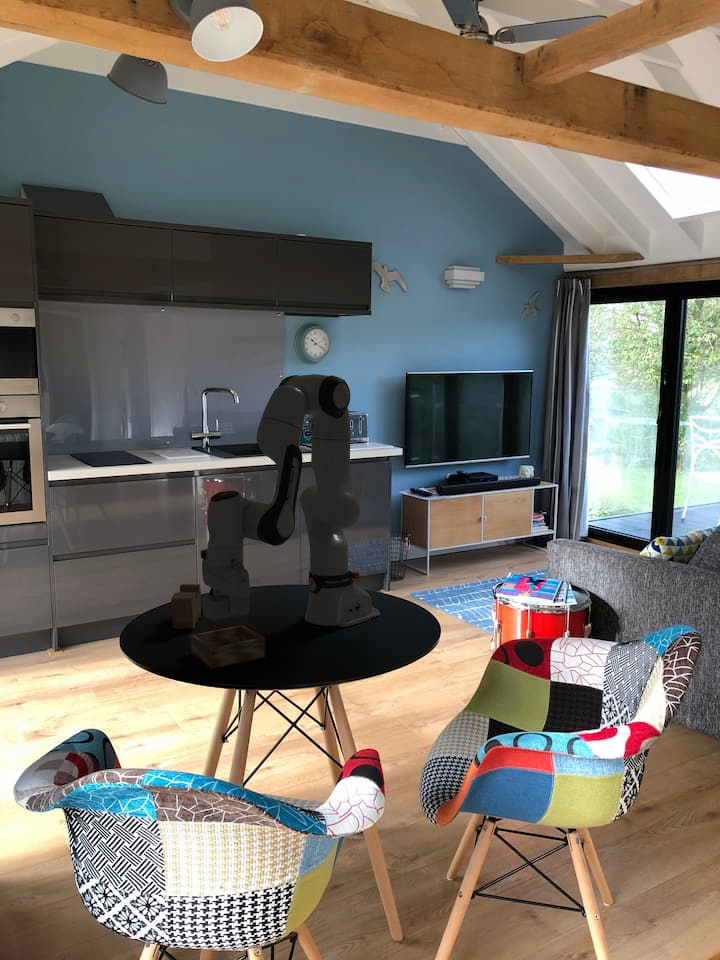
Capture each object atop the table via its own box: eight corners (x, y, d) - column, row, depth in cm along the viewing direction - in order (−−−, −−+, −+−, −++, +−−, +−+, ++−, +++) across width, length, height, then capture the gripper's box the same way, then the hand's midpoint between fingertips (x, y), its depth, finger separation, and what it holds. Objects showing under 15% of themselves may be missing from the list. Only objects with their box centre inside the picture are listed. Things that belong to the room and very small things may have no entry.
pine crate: (241, 642, 219) (241, 624, 218) (265, 657, 208) (265, 638, 207) (190, 653, 210) (189, 634, 210) (212, 669, 200) (212, 649, 199)
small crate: (238, 610, 213) (238, 591, 212) (249, 616, 208) (249, 596, 207) (202, 616, 207) (202, 597, 206) (213, 622, 202) (212, 602, 202)
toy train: (202, 614, 244) (201, 581, 242) (192, 633, 227) (191, 598, 225) (183, 614, 243) (182, 581, 242) (172, 633, 227) (171, 598, 225)
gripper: (256, 562, 199) (256, 618, 201) (219, 547, 215) (220, 598, 217) (232, 566, 195) (233, 622, 197) (197, 550, 212) (198, 602, 214)
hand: (226, 609), depth 207 cm, fingers closed on small crate, 6 cm apart
